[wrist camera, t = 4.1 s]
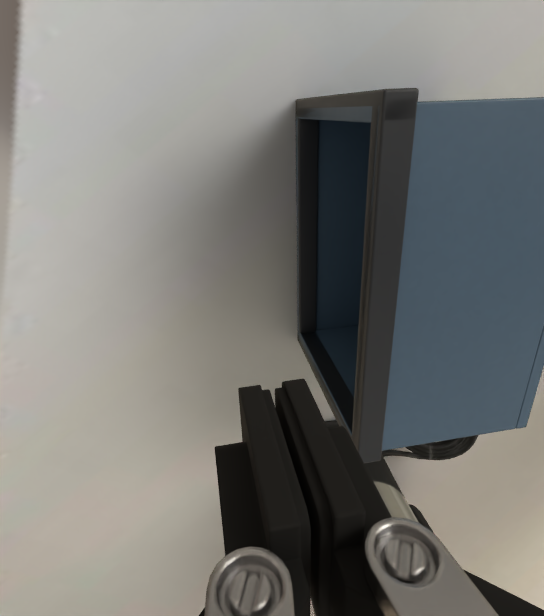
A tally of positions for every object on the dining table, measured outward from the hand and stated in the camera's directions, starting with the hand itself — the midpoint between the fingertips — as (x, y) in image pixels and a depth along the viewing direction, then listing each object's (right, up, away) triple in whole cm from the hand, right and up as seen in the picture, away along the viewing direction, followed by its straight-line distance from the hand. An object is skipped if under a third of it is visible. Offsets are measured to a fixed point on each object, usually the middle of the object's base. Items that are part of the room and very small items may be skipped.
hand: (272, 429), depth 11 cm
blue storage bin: (+6, +8, +17) cm, 20 cm away
